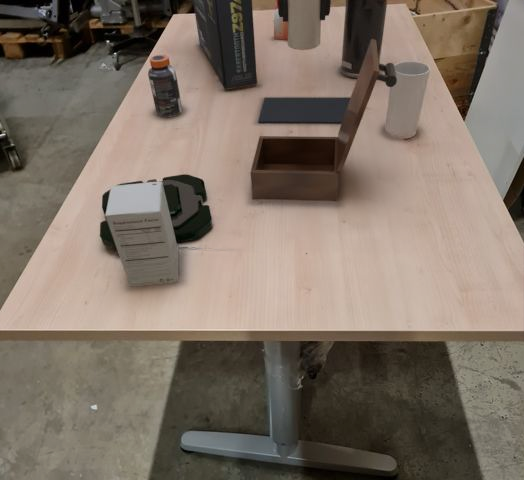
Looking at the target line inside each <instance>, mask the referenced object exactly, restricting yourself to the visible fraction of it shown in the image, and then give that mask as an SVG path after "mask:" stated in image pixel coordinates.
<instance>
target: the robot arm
mask: <svg viewBox="0 0 524 480" xmlns="http://www.w3.org/2000/svg"><path fill="white" fill-rule="evenodd" d="M387 6H388V0H345V7H344V8H345V9H344V10H345V11H344V24H343V38H342V51H341V64H340V73H341V74H342V75H343V76H345V77H348V78H352V79H357V78H358V75H359V73H360V70H361V67H362V64H363V61H364V58H365V55H366V53H367V50H368V47H369V44H370V41H371V39H374V40H376V44H377V53H378V63H380V62H381V55H382V48H383V46H382V45H383V38H384V31H385V23H386V17H387V16H386V15H387ZM330 13H331V0H321V21H326V17H328V16H330ZM278 14H279V17H283V22H287V21H288V17H287V0H278ZM380 64H381V63H380Z"/></svg>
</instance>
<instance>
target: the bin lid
mask: <svg viewBox="0 0 524 480" xmlns="http://www.w3.org/2000/svg"><path fill="white" fill-rule="evenodd" d="M394 65H395V64H394V63H393V62H388V63H386V64H383V63H378V53H377V44H376V40H374V39H371V41H370V44H369V47H368V50H367V53H366V55H365V58H364V61H363V64H362V67H361V70H360V73H359V75H358V78H356V81H355V84H354V87H353V90H352V93H351V96H350V97H349V98H350V101H349V104H348V107H347V110H346V112H345V115H344V118H343V121H342V123H340V127H339V129H338V133H337V137H338V154H337V171H339V172H341V173H342V172H343V169H344V166H345V164H346V161H347V159H348V156H349V154H350V152H351V148H352V146H353V143H354V140H355V139H356V138H355V137H356V135H357V132H358V129H359V127H360V125H361V122H362V120H363V117H364V114H365V112H366V109H367V106H368V103H369V101H370V98H371V96H372V93H373V91H374V88H375V85H376V83H377V81H380V82H384V83H385V86H387V87H388V88H390V87H393V86H394V85H395V84H396V82H397V78H396V72H395V66H394ZM380 71H382V72H383V73H384V74H383V73H380Z"/></svg>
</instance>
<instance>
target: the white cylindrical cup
mask: <svg viewBox="0 0 524 480" xmlns="http://www.w3.org/2000/svg"><path fill="white" fill-rule="evenodd" d="M394 66H395V72H396V78H397V82H396V84H395V85H394V86H393V87H389V92H388V93H389V94H388V101H387V107H386V108H387V109H386V116H385V117H386V118H385V125H384V130H385V131H386V132H387V133H388V134H391V135H393V136H397V137H399V136H400V137H402V139H403V140H406V139H410V138H413V137H414V136H415V135H416V134H417V130H418V126H419V122H420V118H421V117H420V116H421V114H422V113H421V112H422V107H423V103H424V100H425V94H426V89H427V86H428V82H429V76H430V71H431V67H430V66H429V65H428V64H427V63H424V62H420V61H413V60H407V61H400V62H396V63H395V64H394Z"/></svg>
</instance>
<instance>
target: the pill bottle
mask: <svg viewBox="0 0 524 480" xmlns="http://www.w3.org/2000/svg"><path fill="white" fill-rule="evenodd" d="M149 63H150V68H149V69H148V72H147V75H148V80H149V85H150V90H151V94H152V98H153V103H154V108H155V112H156V115H158V117H162V118H171V117H172V118H173V117H176V116H178V115H180V114H181V113H182V112H183V107H182V106H183V105H182V99H181V94H180V89H179V83H178V82H179V81H178V77H177V71H176V69H175V67H173V66H172V65H171V62H170V57H169V55H167V54H155V55H153V56H150V58H149Z"/></svg>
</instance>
